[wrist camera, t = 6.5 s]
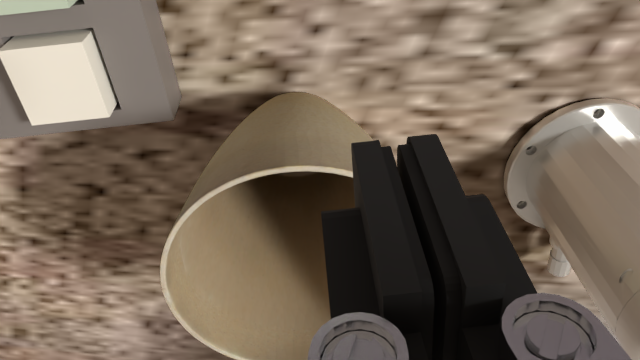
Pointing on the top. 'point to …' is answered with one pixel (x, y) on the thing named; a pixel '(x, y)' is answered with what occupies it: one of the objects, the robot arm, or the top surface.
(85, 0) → the button panel
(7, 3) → the sage button
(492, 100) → the top surface
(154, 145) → the top surface
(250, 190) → the plant pot
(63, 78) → the cream button
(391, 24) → the top surface
